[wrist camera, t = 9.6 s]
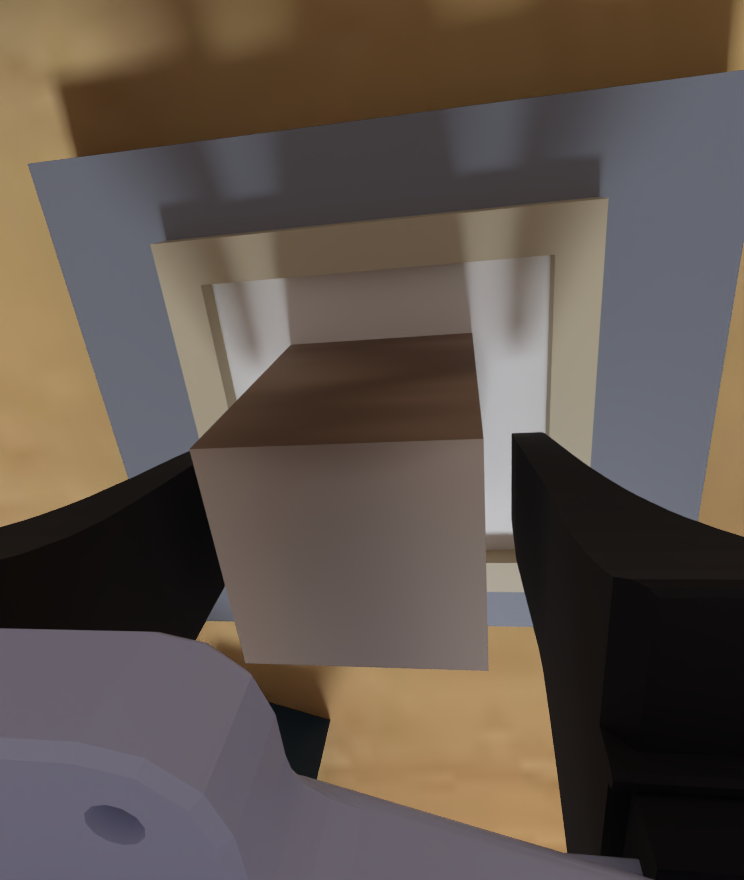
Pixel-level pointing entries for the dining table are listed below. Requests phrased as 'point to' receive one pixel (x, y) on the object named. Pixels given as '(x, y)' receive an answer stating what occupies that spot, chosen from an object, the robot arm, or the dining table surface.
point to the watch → (302, 739)
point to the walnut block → (354, 506)
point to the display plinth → (431, 274)
